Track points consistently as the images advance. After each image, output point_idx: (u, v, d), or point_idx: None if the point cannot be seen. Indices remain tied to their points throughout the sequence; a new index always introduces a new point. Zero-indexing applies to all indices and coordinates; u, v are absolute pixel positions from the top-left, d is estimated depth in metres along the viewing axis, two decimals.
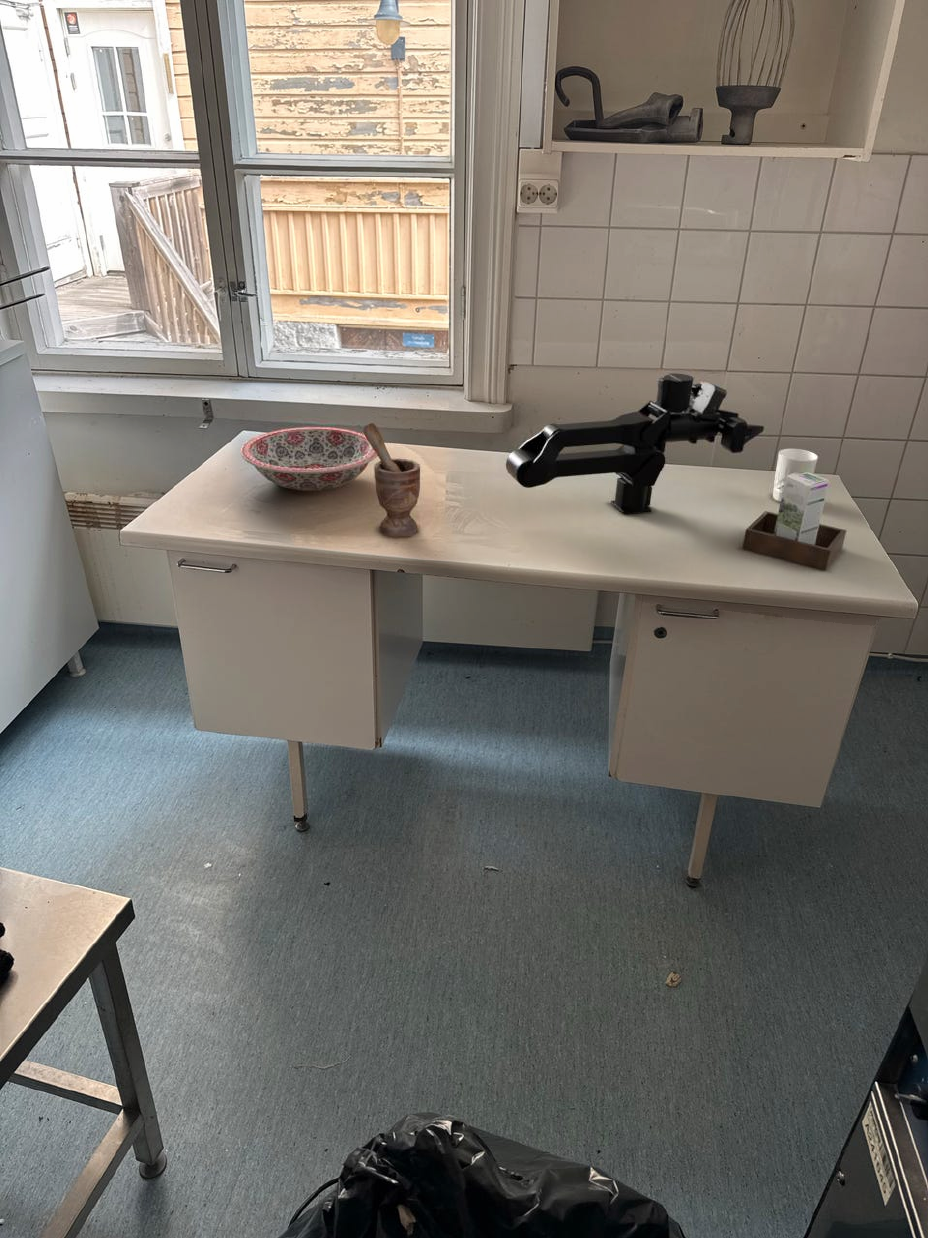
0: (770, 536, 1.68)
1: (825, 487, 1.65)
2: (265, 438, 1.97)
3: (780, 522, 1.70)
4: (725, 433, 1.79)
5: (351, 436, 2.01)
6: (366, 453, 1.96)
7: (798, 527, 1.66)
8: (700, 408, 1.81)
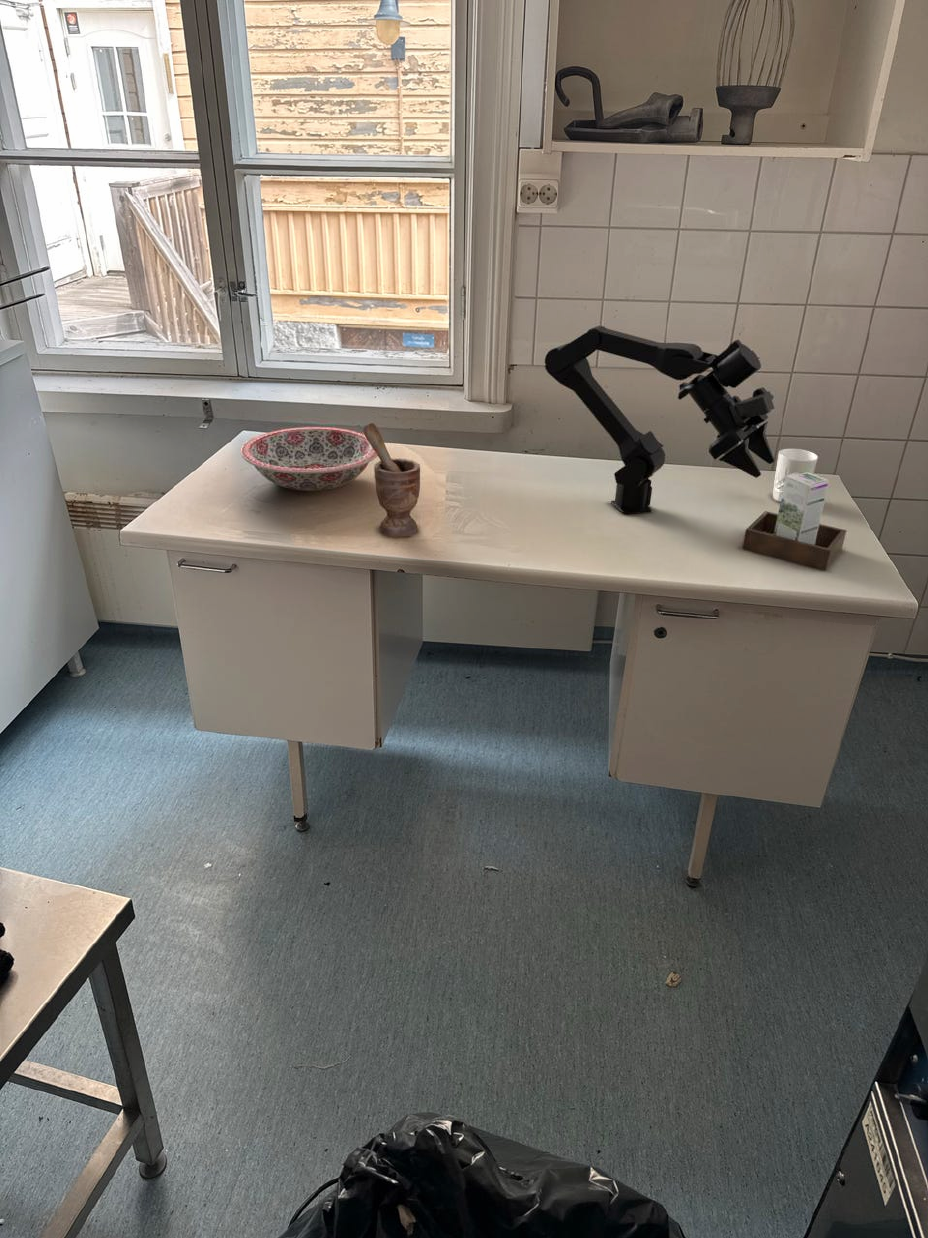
0: (770, 536, 1.68)
1: (825, 487, 1.65)
2: (265, 438, 1.97)
3: (780, 522, 1.70)
4: (723, 434, 1.65)
5: (351, 436, 2.01)
6: (366, 453, 1.96)
7: (798, 527, 1.66)
8: (739, 403, 1.67)
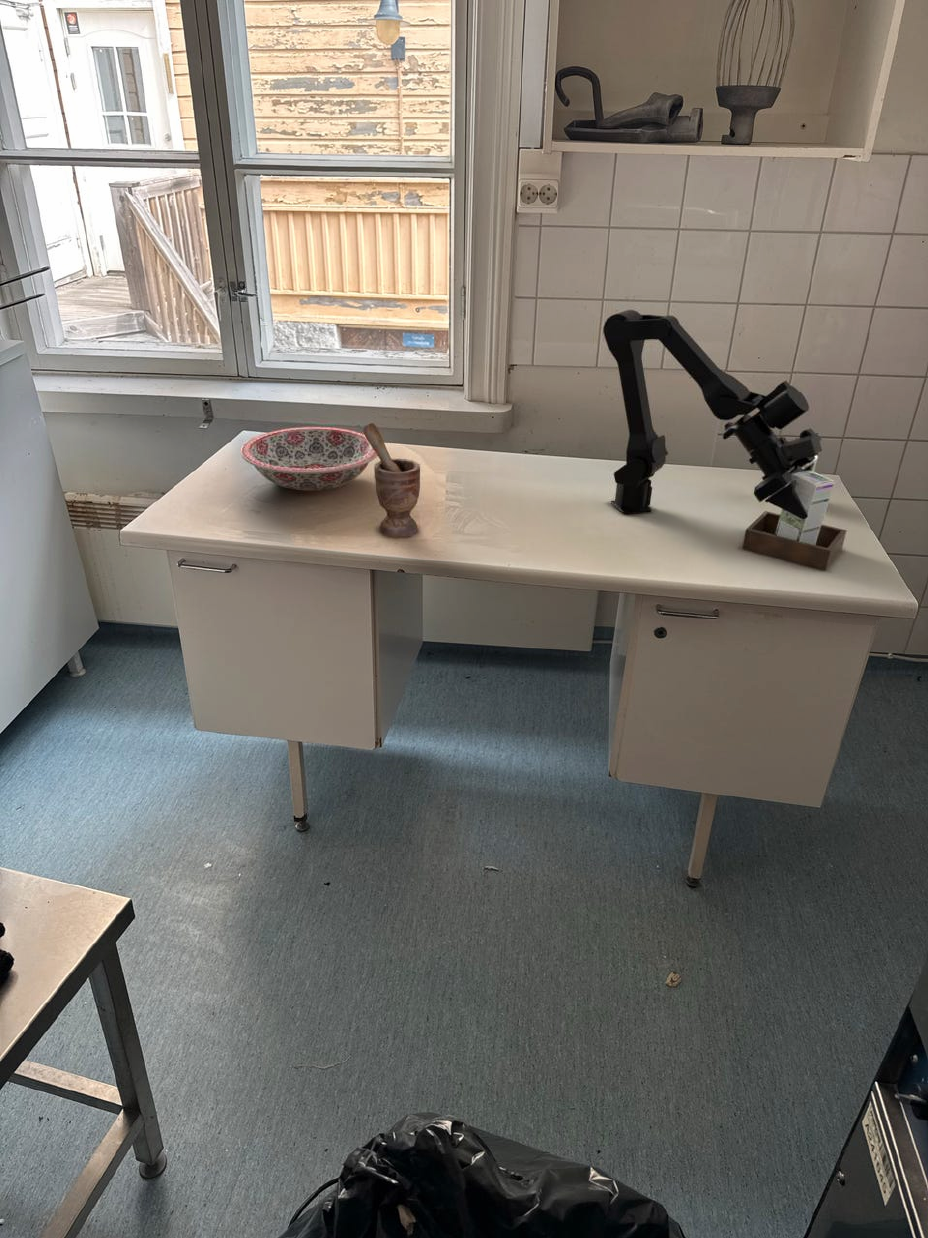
0: (770, 536, 1.68)
1: (830, 487, 1.65)
2: (265, 438, 1.97)
3: (783, 520, 1.69)
4: (769, 476, 1.62)
5: (351, 436, 2.01)
6: (366, 453, 1.96)
7: (801, 526, 1.66)
8: (786, 444, 1.64)
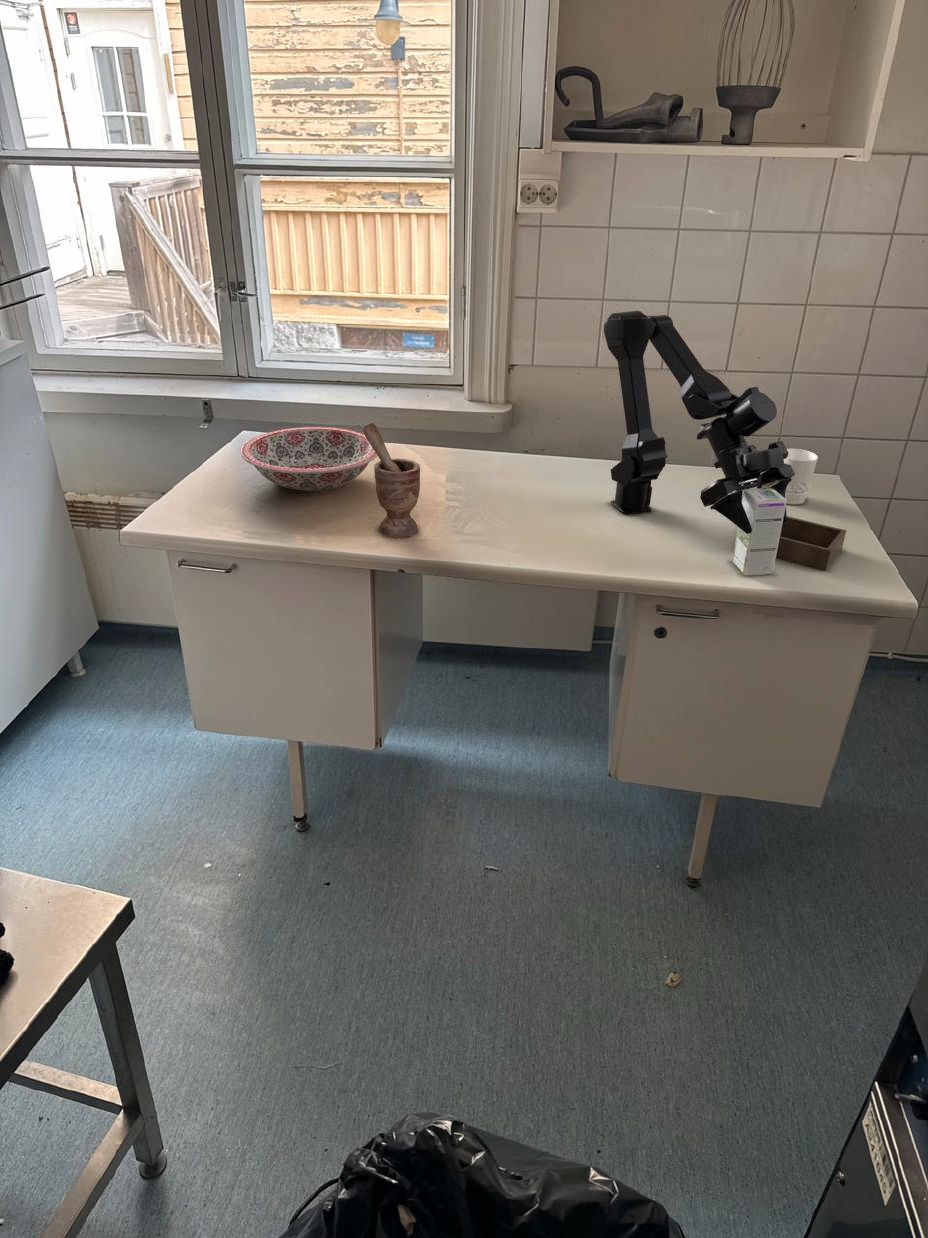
0: None
1: (781, 506, 1.56)
2: (265, 438, 1.97)
3: (738, 537, 1.63)
4: None
5: (351, 436, 2.01)
6: (366, 453, 1.96)
7: (748, 544, 1.59)
8: (748, 453, 1.58)
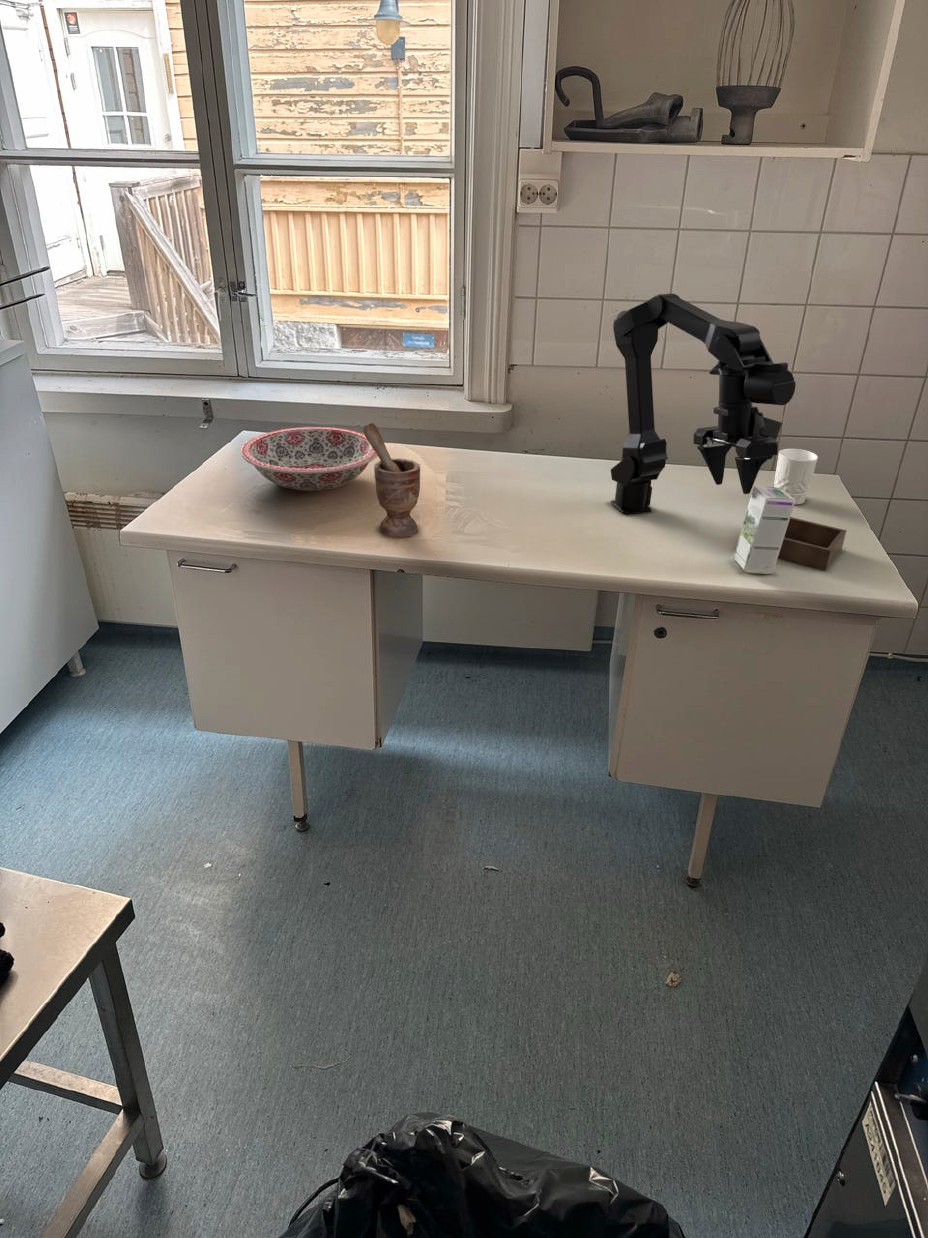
0: None
1: (789, 506, 1.56)
2: (265, 438, 1.97)
3: (742, 534, 1.63)
4: (756, 437, 1.55)
5: (351, 436, 2.01)
6: (366, 453, 1.96)
7: (752, 541, 1.59)
8: None
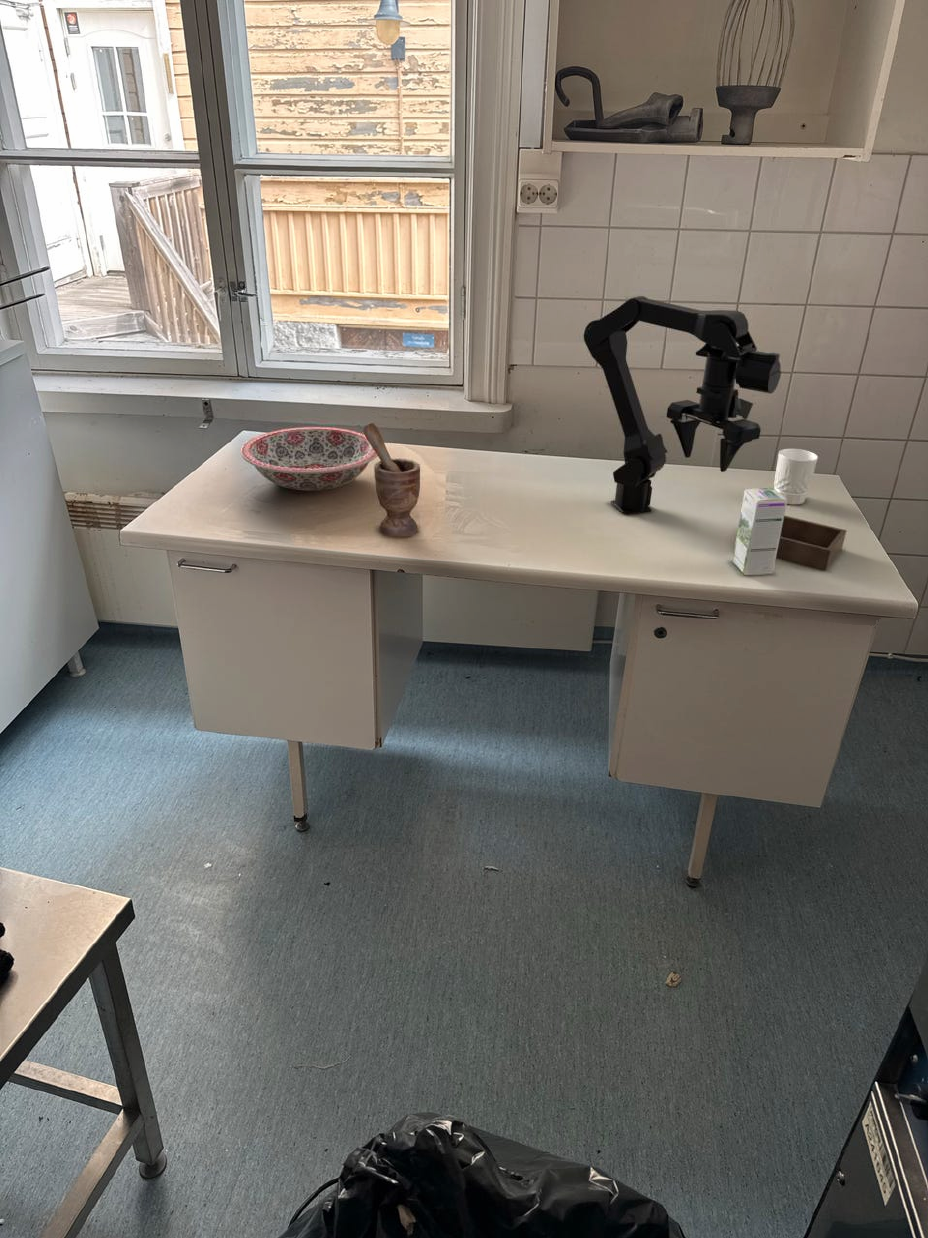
0: None
1: (781, 506, 1.56)
2: (265, 438, 1.97)
3: (738, 537, 1.63)
4: (741, 421, 1.65)
5: (351, 436, 2.01)
6: (366, 453, 1.96)
7: (748, 544, 1.59)
8: None
